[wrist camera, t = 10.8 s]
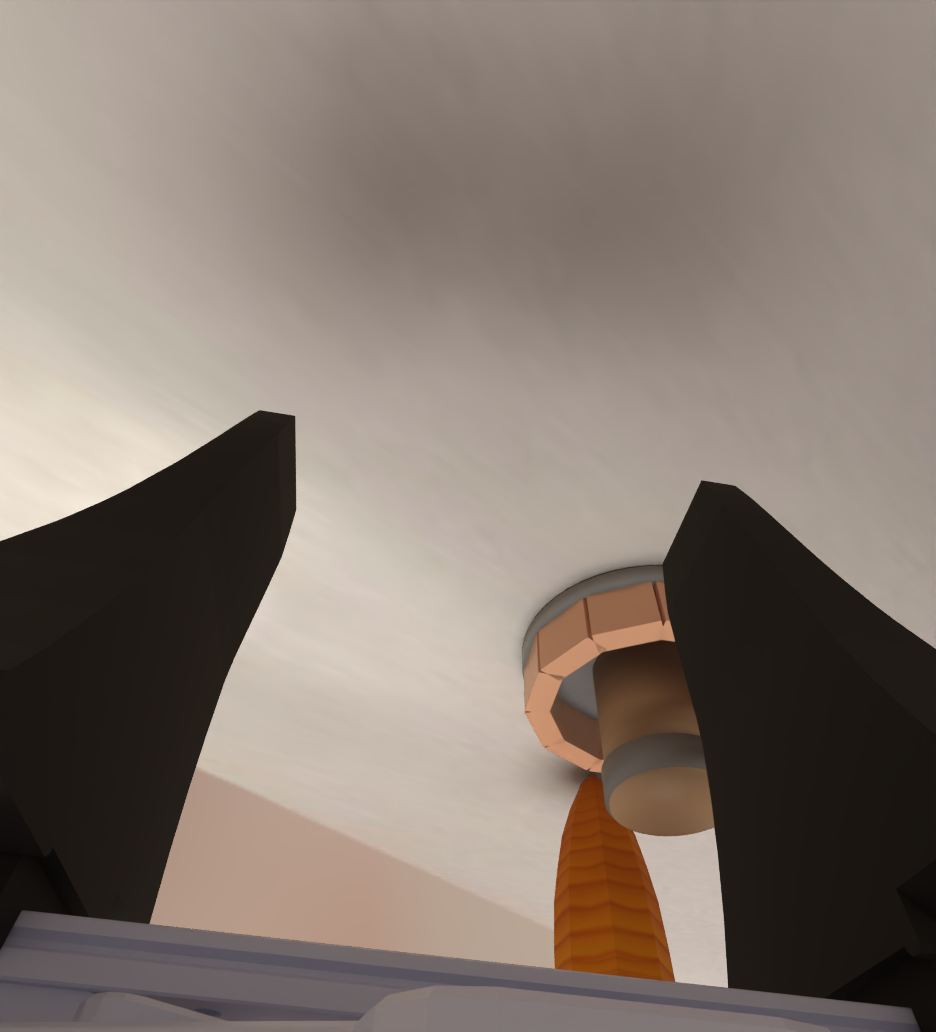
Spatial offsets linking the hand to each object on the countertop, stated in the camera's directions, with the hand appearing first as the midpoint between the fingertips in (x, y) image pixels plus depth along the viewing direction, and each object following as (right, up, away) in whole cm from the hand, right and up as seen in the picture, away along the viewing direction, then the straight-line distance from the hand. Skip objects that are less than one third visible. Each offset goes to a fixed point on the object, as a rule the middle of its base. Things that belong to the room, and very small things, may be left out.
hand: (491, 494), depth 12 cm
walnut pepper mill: (+7, -7, +16) cm, 19 cm away
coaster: (+7, -6, +17) cm, 19 cm away
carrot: (+6, -14, +23) cm, 28 cm away
